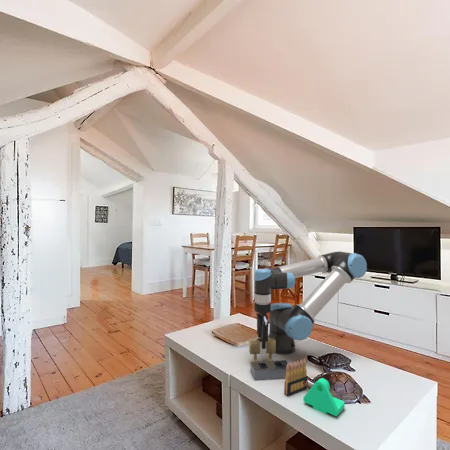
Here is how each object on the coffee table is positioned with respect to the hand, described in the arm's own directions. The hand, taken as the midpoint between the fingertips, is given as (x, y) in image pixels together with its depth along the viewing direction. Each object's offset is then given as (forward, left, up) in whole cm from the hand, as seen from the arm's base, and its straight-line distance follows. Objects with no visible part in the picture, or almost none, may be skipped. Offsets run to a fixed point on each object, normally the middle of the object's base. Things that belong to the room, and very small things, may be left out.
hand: (262, 353), depth 141 cm
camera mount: (-13, +36, -5) cm, 38 cm away
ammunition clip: (-7, +25, -5) cm, 26 cm away
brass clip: (0, 0, -5) cm, 5 cm away
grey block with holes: (-1, +11, -5) cm, 12 cm away
